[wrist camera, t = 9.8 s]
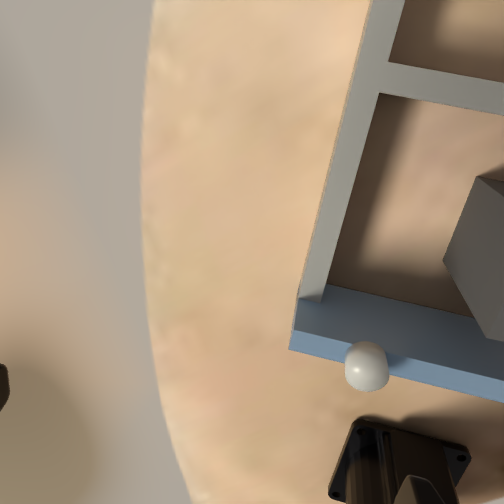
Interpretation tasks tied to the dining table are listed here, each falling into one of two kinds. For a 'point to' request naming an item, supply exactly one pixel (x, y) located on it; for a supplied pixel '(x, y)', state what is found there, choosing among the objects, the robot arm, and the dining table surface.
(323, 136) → the dining table surface
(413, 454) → the robot arm
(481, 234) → the grey cube with knob
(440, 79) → the organiser
